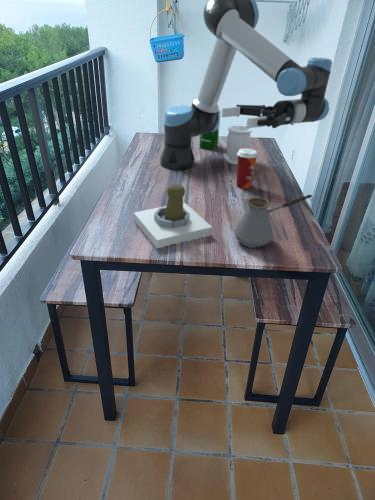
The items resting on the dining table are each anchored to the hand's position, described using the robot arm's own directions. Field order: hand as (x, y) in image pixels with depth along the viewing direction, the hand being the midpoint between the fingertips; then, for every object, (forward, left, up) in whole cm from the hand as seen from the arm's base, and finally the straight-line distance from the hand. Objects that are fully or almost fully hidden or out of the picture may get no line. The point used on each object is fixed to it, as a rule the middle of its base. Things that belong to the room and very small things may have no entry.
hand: (234, 117), depth 110 cm
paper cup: (-12, +16, -30) cm, 36 cm away
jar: (-36, +29, -30) cm, 55 cm away
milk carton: (-59, +28, -30) cm, 72 cm away
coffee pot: (+25, 0, -30) cm, 39 cm away
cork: (+7, -23, -27) cm, 36 cm away
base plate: (+6, -24, -30) cm, 39 cm away
